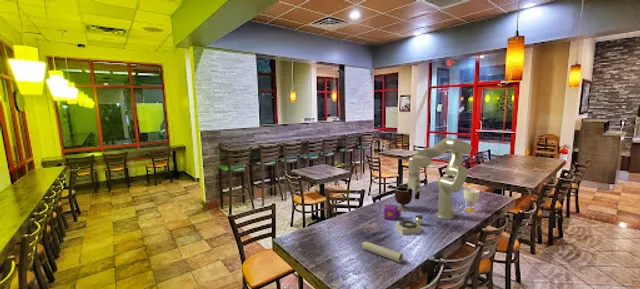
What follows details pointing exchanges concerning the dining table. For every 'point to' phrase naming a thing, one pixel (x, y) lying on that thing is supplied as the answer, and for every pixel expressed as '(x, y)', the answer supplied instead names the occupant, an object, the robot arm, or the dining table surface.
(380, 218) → the dining table surface
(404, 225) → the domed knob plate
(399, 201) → the mate gourd
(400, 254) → the tube
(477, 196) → the cup
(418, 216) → the lens
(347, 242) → the dining table surface
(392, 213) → the toy camera
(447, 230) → the dining table surface
